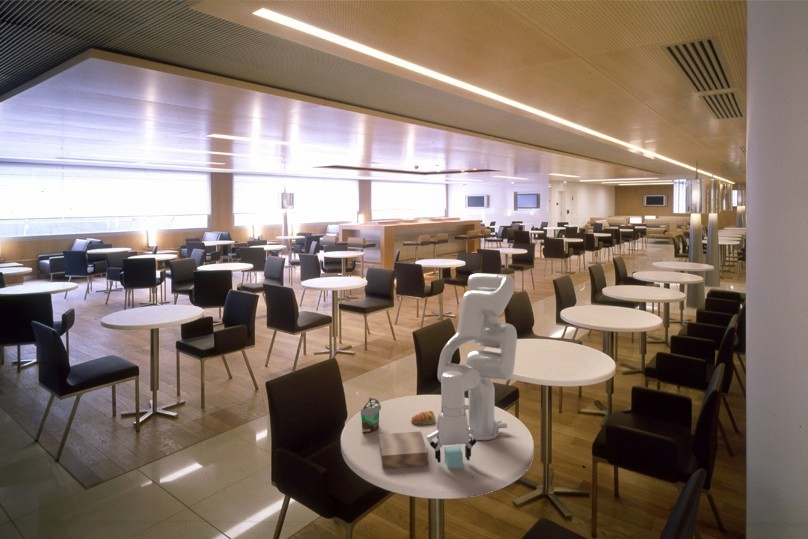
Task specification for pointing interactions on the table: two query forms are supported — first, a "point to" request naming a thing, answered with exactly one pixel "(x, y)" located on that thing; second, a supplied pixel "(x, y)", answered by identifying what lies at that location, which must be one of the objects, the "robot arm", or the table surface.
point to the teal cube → (453, 457)
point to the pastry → (424, 418)
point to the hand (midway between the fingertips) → (453, 459)
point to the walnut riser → (403, 450)
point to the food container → (370, 416)
